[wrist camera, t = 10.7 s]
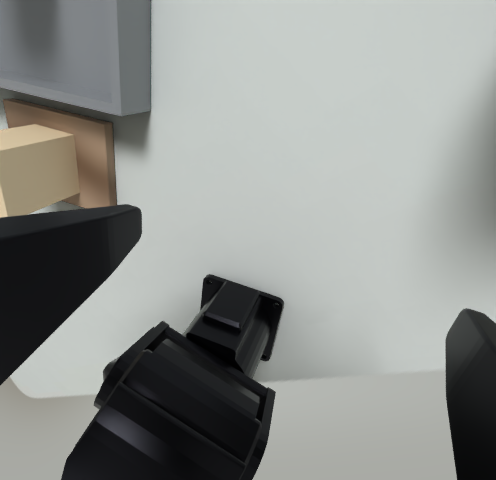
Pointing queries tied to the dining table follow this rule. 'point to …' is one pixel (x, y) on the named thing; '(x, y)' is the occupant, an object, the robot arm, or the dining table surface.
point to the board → (76, 148)
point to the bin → (79, 52)
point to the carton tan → (35, 169)
